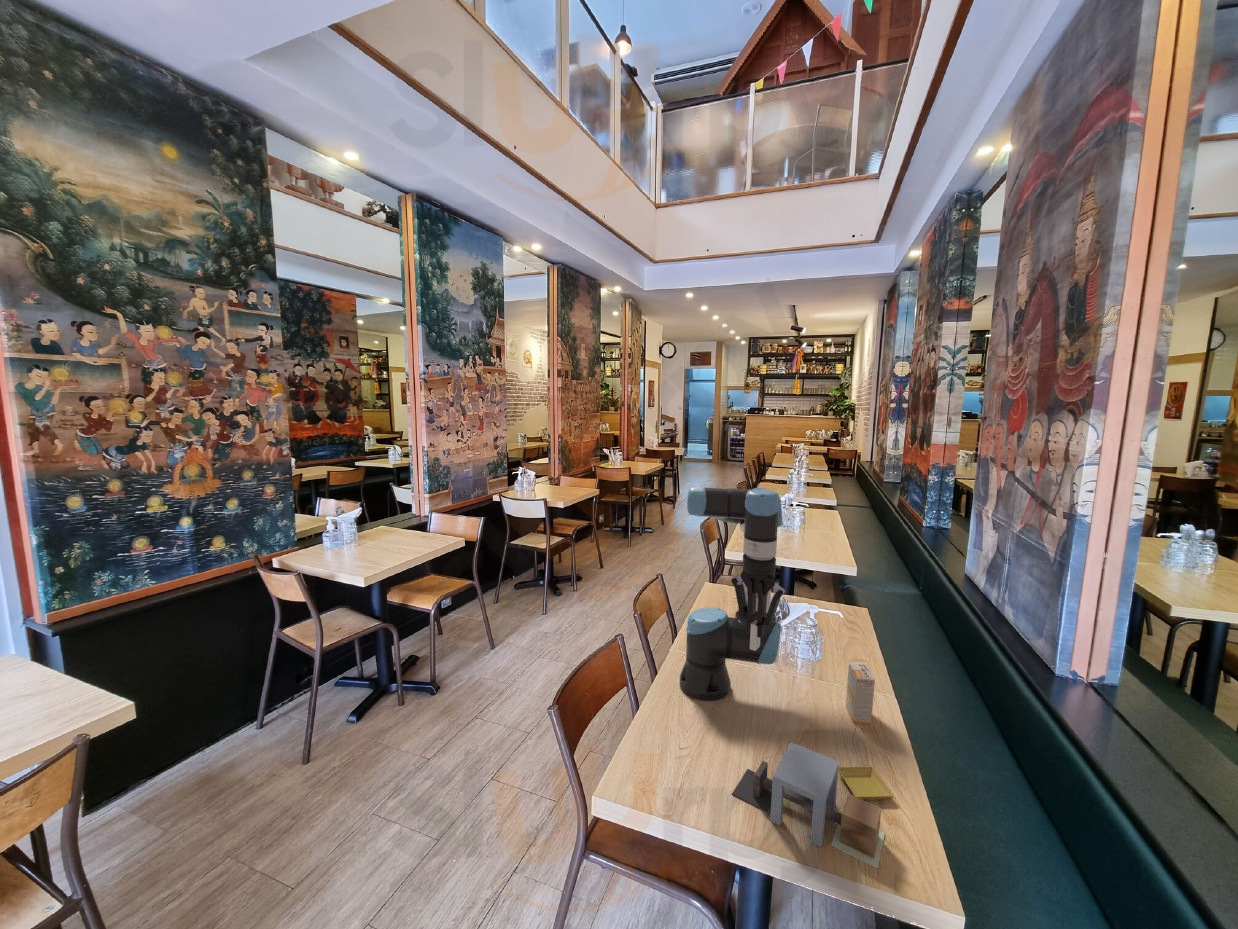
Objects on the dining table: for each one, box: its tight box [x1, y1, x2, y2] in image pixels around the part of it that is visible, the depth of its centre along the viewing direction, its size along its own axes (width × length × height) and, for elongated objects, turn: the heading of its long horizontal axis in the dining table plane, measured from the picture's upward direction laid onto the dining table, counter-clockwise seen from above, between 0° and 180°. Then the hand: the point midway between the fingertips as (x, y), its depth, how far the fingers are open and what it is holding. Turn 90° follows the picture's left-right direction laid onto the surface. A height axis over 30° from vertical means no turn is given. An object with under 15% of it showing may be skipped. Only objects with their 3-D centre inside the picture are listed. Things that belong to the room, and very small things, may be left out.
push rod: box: [753, 760, 882, 858], centre depth 100 cm, size 24×6×6 cm, turn 54°
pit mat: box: [731, 768, 773, 814], centre depth 108 cm, size 8×9×1 cm
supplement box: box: [845, 662, 876, 726], centre depth 133 cm, size 8×5×13 cm, turn 168°
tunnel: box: [769, 741, 840, 848], centre depth 101 cm, size 10×12×10 cm
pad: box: [831, 824, 886, 869], centre depth 96 cm, size 8×9×1 cm
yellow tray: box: [838, 765, 894, 801], centre depth 109 cm, size 9×9×2 cm
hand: (754, 647), depth 119 cm, fingers closed
